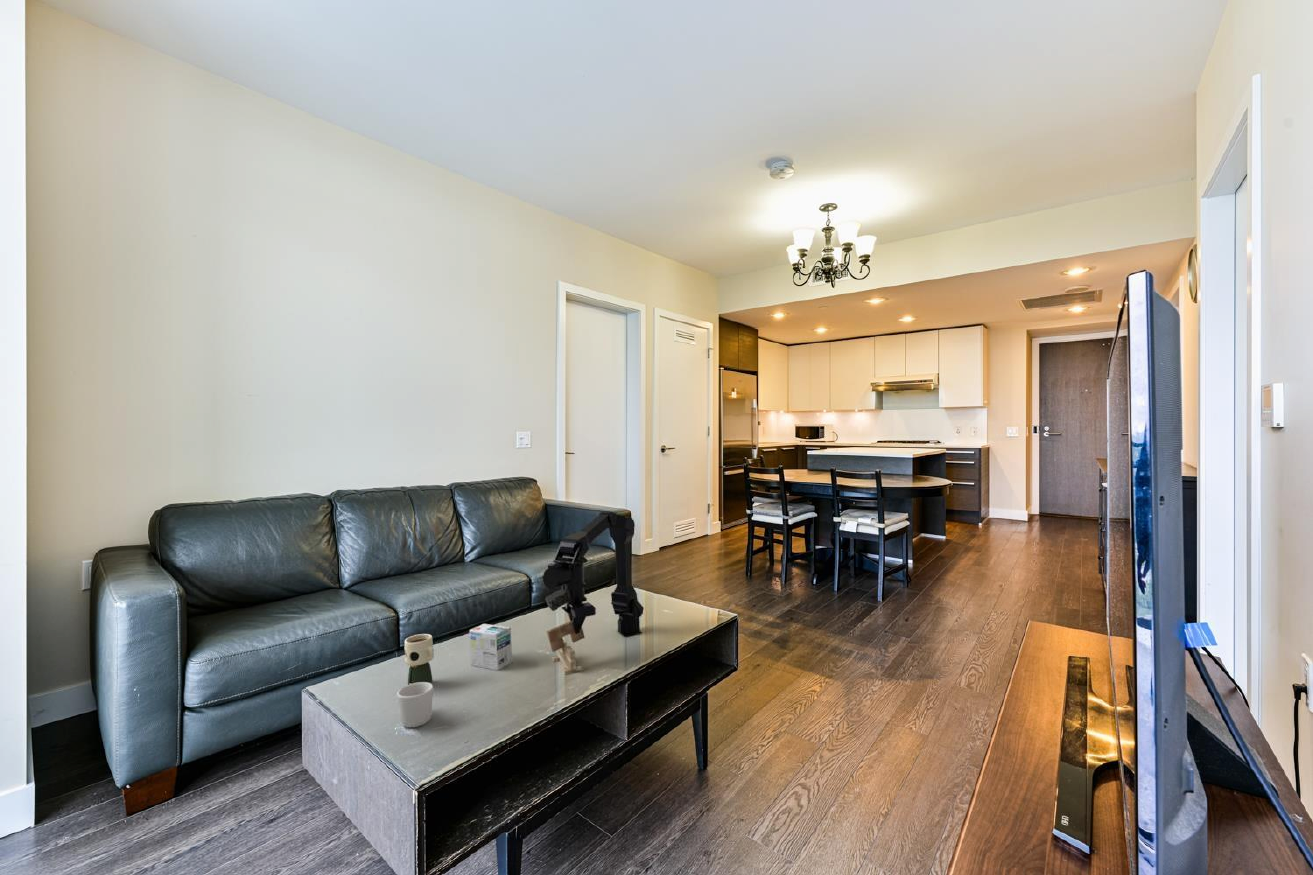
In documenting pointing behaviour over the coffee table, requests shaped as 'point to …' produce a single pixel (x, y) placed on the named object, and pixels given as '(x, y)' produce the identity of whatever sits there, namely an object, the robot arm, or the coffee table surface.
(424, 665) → the character mug
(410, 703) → the cup
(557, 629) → the walnut plate
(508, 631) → the light bulb box
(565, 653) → the maple jig
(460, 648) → the coffee table surface
